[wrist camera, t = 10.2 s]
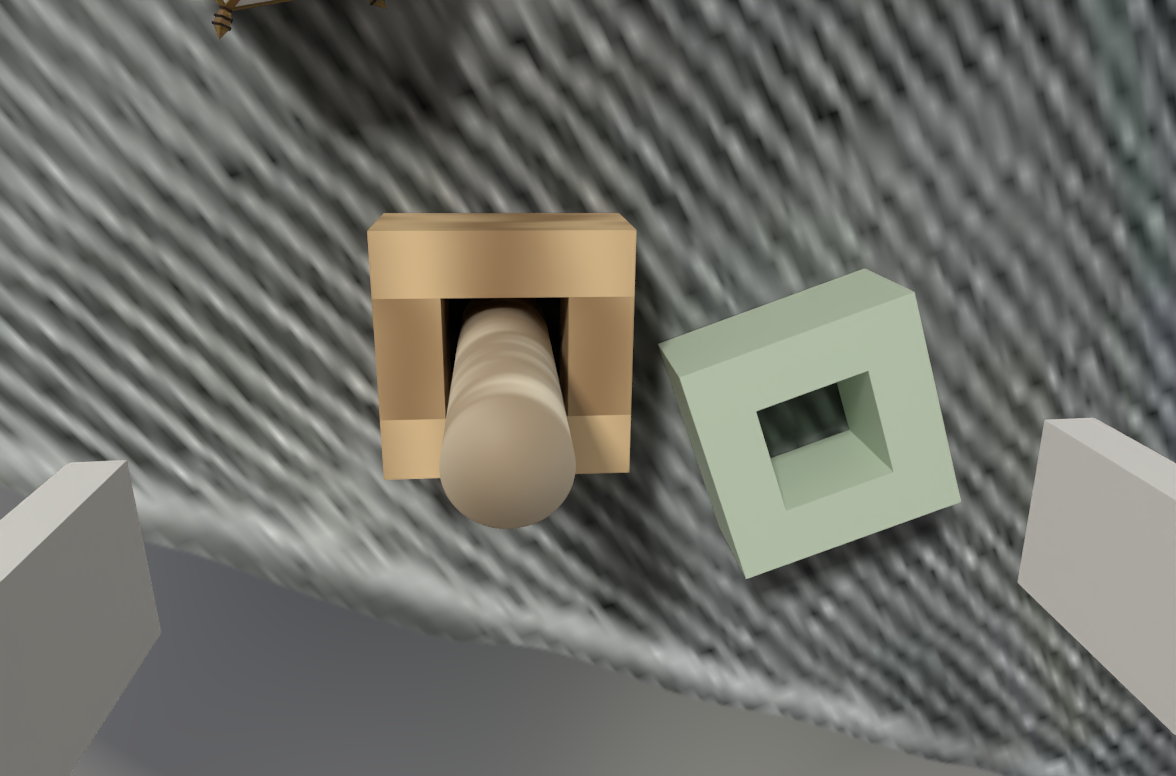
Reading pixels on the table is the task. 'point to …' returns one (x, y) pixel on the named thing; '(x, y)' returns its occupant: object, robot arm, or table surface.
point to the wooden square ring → (502, 270)
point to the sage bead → (832, 465)
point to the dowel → (506, 418)
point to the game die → (228, 3)
